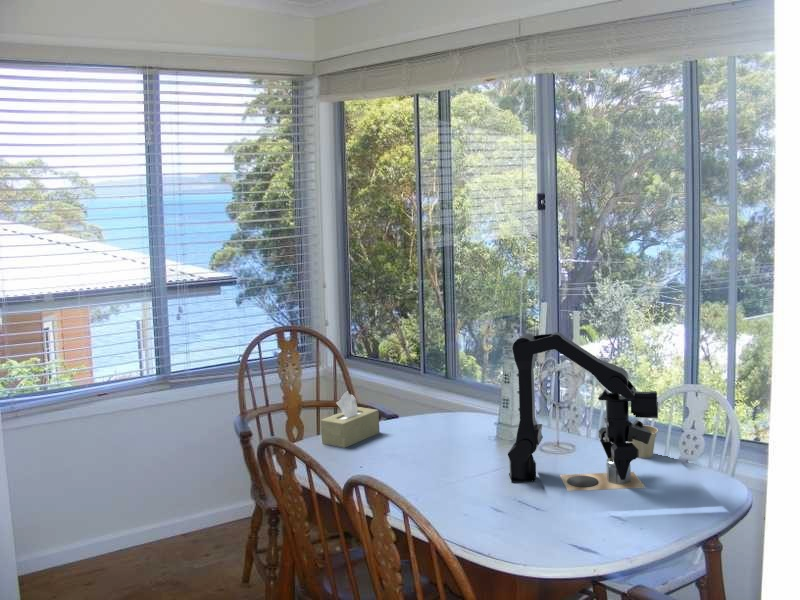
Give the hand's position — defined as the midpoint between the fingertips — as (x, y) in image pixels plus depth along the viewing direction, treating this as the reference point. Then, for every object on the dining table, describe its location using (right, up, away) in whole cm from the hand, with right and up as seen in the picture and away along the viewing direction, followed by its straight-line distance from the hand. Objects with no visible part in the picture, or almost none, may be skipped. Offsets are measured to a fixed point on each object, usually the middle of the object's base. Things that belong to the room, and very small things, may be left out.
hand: (618, 473), depth 220 cm
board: (-4, -3, 0) cm, 5 cm away
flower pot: (+12, 0, +20) cm, 23 cm away
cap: (0, -2, 0) cm, 2 cm away
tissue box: (-74, 0, +54) cm, 92 cm away
